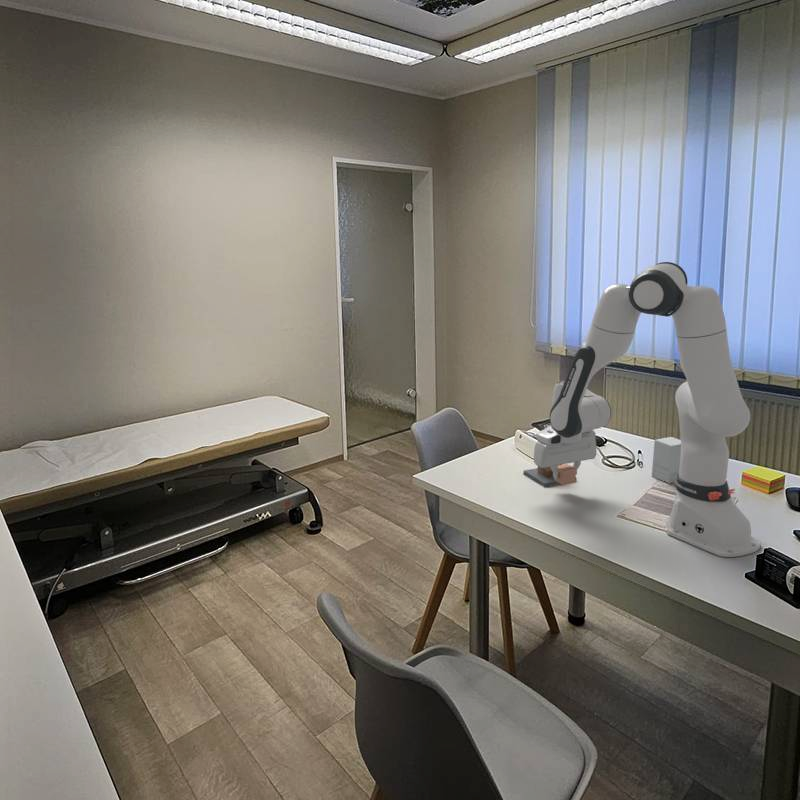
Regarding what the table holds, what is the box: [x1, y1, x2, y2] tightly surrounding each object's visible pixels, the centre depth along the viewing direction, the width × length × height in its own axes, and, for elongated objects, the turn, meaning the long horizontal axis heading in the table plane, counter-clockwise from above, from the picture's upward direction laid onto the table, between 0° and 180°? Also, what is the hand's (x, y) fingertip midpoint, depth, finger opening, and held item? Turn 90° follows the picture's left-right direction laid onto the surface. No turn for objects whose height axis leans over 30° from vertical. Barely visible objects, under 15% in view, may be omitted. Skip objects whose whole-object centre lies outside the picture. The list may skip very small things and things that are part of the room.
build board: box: [523, 467, 577, 488], centre depth 198 cm, size 12×12×1 cm
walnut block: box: [537, 464, 563, 478], centre depth 198 cm, size 6×6×6 cm
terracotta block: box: [554, 463, 577, 486], centre depth 185 cm, size 4×4×4 cm
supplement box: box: [651, 436, 681, 484], centre depth 194 cm, size 7×7×13 cm
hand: (564, 476), depth 185 cm, fingers closed on terracotta block, 4 cm apart
